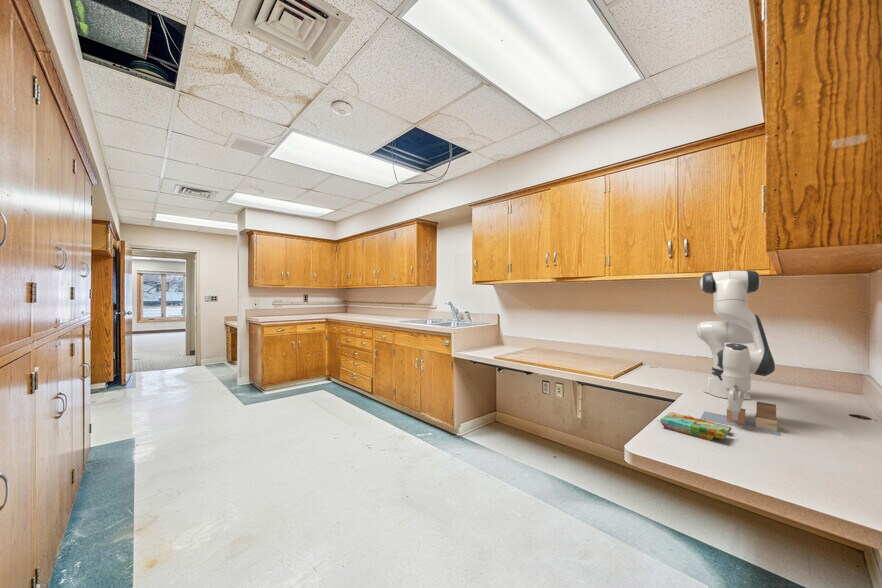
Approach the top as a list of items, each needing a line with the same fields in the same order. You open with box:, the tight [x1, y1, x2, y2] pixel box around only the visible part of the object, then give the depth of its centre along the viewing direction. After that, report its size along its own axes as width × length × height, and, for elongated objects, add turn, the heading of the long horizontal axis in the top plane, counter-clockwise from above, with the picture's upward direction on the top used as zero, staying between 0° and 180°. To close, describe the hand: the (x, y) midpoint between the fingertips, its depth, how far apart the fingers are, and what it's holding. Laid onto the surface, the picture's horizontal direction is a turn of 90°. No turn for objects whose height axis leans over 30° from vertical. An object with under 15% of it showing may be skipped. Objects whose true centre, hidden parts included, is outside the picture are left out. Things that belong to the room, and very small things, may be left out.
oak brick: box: [755, 416, 778, 432], centre depth 133 cm, size 6×6×4 cm
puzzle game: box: [660, 411, 732, 441], centre depth 132 cm, size 12×5×20 cm
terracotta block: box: [726, 406, 746, 425], centre depth 140 cm, size 6×6×5 cm
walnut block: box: [755, 400, 777, 421], centre depth 133 cm, size 6×6×5 cm
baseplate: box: [699, 411, 782, 437], centre depth 138 cm, size 13×24×1 cm, turn 46°
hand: (735, 417), depth 140 cm, fingers closed on terracotta block, 5 cm apart
